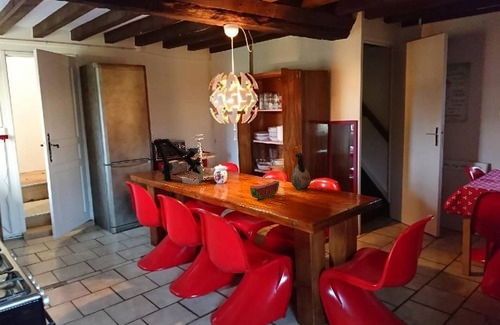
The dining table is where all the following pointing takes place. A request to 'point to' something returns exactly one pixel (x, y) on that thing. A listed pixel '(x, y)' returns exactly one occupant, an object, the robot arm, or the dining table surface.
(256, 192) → the fruit slice
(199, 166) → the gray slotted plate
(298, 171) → the ceramic jug
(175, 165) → the stack of blocks
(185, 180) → the white rectangular bar
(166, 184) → the dining table surface
